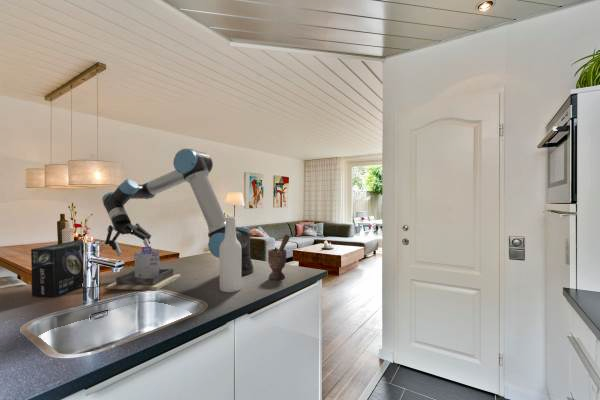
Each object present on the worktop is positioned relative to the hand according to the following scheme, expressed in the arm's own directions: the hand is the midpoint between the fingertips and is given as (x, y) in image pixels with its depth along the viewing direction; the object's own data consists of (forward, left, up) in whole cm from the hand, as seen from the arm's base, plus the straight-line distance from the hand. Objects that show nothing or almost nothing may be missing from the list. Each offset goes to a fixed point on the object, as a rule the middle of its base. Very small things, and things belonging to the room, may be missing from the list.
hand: (135, 252), depth 137 cm
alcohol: (-49, +12, -13) cm, 52 cm away
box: (+19, +15, -13) cm, 28 cm away
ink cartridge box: (-8, +4, -12) cm, 15 cm away
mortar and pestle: (-66, -8, -13) cm, 68 cm away
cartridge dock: (-8, +5, -13) cm, 16 cm away
